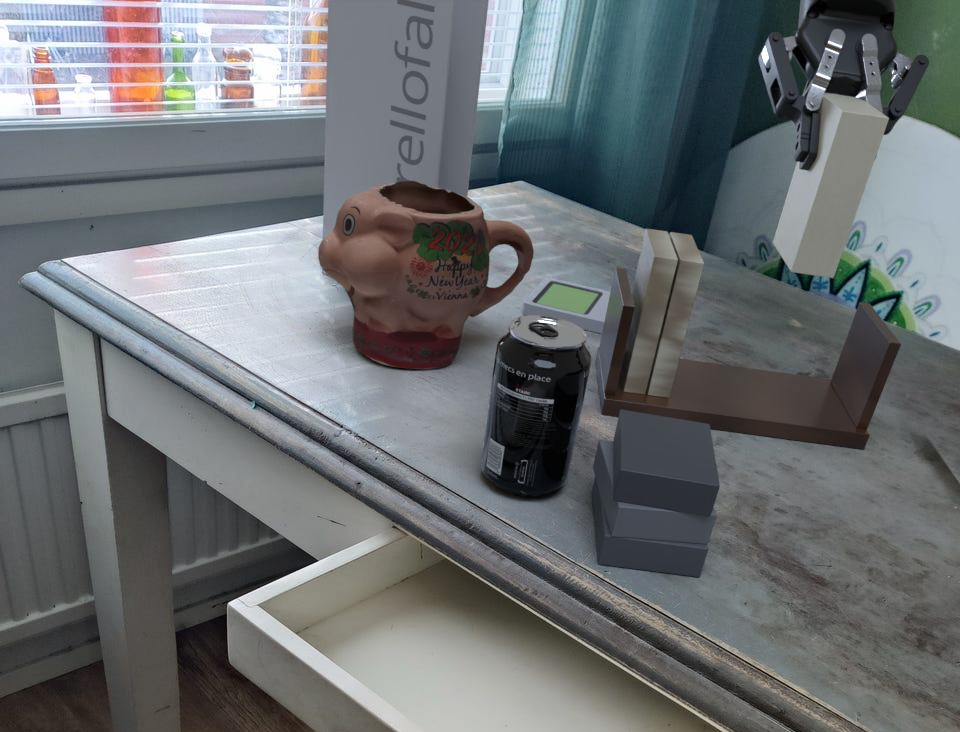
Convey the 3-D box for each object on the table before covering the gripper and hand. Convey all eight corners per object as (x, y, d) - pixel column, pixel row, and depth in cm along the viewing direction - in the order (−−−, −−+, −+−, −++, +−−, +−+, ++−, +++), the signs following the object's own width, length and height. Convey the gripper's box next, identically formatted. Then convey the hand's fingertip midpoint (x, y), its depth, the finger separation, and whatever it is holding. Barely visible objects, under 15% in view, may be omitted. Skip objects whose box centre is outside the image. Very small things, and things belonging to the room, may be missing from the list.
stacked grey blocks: (684, 504, 77) (708, 420, 72) (701, 578, 69) (730, 488, 64) (586, 491, 76) (604, 406, 72) (592, 564, 68) (613, 472, 64)
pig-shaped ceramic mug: (489, 321, 102) (508, 178, 94) (541, 370, 94) (567, 218, 85) (300, 329, 94) (302, 173, 86) (339, 383, 86) (346, 217, 77)
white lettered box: (321, 272, 107) (328, -63, 89) (354, 263, 111) (368, -61, 93) (425, 312, 102) (456, -36, 83) (456, 300, 106) (492, -35, 87)
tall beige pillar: (811, 248, 88) (861, 97, 80) (833, 278, 81) (889, 117, 74) (772, 242, 87) (818, 91, 80) (791, 272, 81) (842, 110, 74)
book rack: (832, 394, 98) (883, 256, 90) (864, 449, 89) (924, 301, 80) (594, 361, 97) (624, 219, 89) (601, 414, 88) (634, 260, 79)
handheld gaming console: (661, 332, 101) (522, 299, 104) (657, 347, 102) (520, 314, 105) (675, 303, 109) (546, 273, 112) (672, 317, 110) (544, 287, 113)
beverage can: (533, 453, 80) (558, 308, 73) (583, 493, 76) (615, 344, 69) (462, 467, 77) (481, 316, 69) (510, 510, 73) (536, 355, 65)
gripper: (782, -77, 77) (764, 126, 75) (957, -49, 78) (943, 153, 76) (750, -4, 85) (733, 182, 83) (910, 21, 85) (897, 206, 83)
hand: (834, 167), depth 79 cm, fingers closed on tall beige pillar, 3 cm apart
